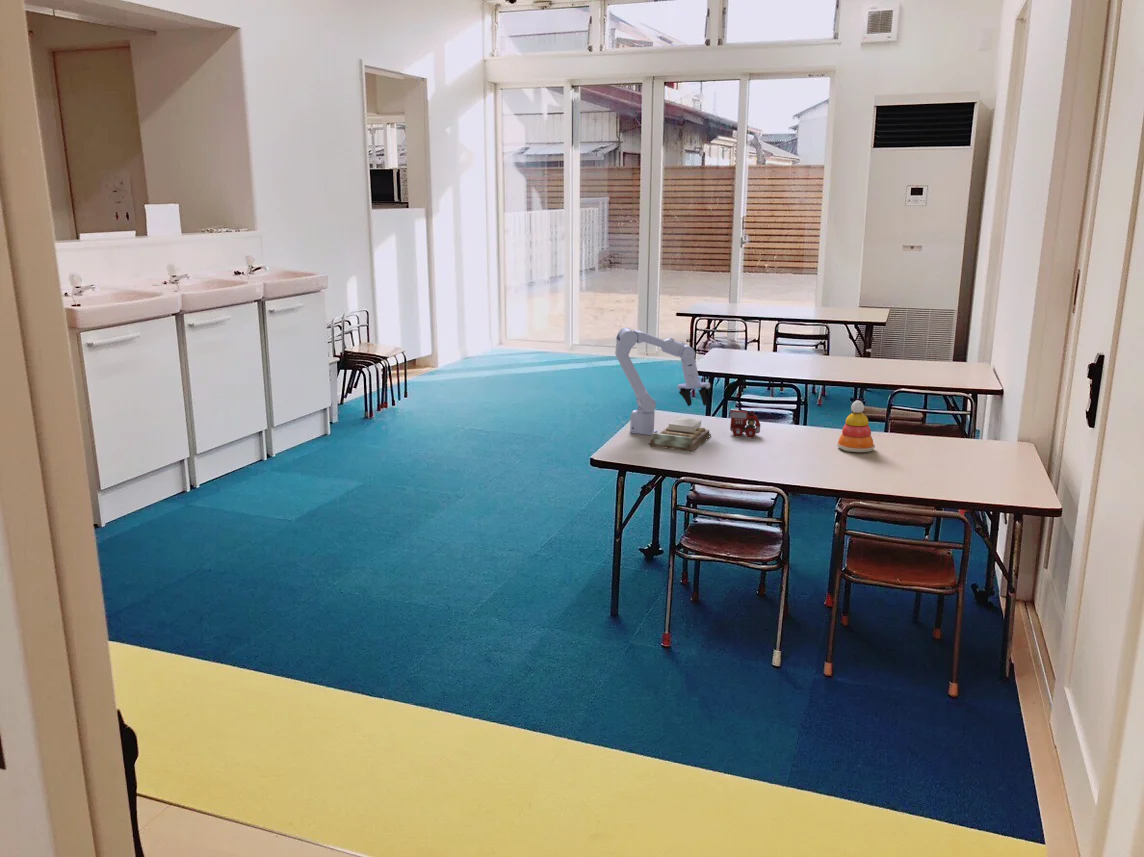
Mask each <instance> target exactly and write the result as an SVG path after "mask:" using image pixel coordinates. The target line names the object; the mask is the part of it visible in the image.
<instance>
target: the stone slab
mask: <svg viewBox="0 0 1144 857" xmlns="http://www.w3.org/2000/svg"><path fill="white" fill-rule="evenodd" d="M701 426H702V420H701V419H696V418H695V419H692V418H686V417H677V418H675V419H673V420H672V421H670V422H669V423H668V426H667V427H668V430H675V431H683V432H691V433H693V432H694V431H695V430H696V429H698V428H699V427H700V428H701Z"/></svg>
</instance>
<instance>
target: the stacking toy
mask: <svg viewBox="0 0 1144 857" xmlns="http://www.w3.org/2000/svg"><path fill="white" fill-rule="evenodd" d="M850 409H851V412H852V413H850V414H849V415H848V416H847V417H846V419H845V421H844V422H845V424H844V426H843V427H842V431H841V434H840V435H839V438H838V441H836V445H837V447H838V448H839V449H841V450H843V451H844V452H847V453H851V452H852V453H869V452H873V450H874V449H875V448H876V444H874V439H873V437H872V430H871V426H869V419H868V416H867V415H865V414H864V413H863V412H864V410H865V406H864V403H863V402H862V401H861V400H857V399H856V400H855V401H853V403H852V404H851V406H850Z"/></svg>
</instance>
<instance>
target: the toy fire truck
mask: <svg viewBox="0 0 1144 857" xmlns="http://www.w3.org/2000/svg"><path fill="white" fill-rule="evenodd" d="M729 417H730V424H729V425H730V428H729V429H730V432H732V434H733V436H734V437H736V436H740V437H742V436H743V434H744V433H745V436H746V437H747V438H749V437H752V438H754V437H756V434H759V433H761V423H760V420H759V418H758V416H757V415H756V414H755V411H754V410H751V411H749V412H748V411H746V410H734V409H733V410H732V409H731V410H730V414H729Z"/></svg>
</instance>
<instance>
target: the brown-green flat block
mask: <svg viewBox="0 0 1144 857" xmlns="http://www.w3.org/2000/svg"><path fill="white" fill-rule="evenodd" d="M668 427H669V426H667V427H666V428H664V429H663V430H661V432H655V433H652V435H650V436H651V437H650V438H651V439H650V442H648V446H649V445H650V446H649V447H655V446H660V447H659V448H663V447H667V448H666V449H670V448H674V449H673V450H678V449H680V451H686V450H689V452H694V451H695V450H696V449H698V448H699V447H700V446H701V445H702V444H704V443H705V442H704V441H705V440H706V439H707V438H708V437H709V436H710V437H712V434H711V433H710V429H706V427H701V426H700V427H699V428H698V429H696V430H695V431H694V432H693V433H691V432H683V431H675V430H668ZM710 437H709V438H710ZM709 438H708V439H709ZM708 439H707V440H708ZM707 440H706V441H707ZM701 443H702V444H701ZM700 444H701V445H700ZM699 445H700V446H699ZM698 446H699V447H698ZM697 447H698V448H697ZM693 450H694V451H693Z"/></svg>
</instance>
